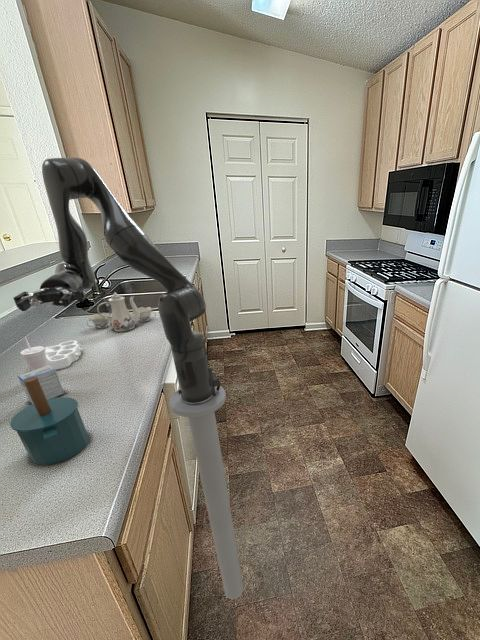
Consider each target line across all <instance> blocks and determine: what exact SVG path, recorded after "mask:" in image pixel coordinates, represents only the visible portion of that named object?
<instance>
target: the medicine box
mask: <svg viewBox="0 0 480 640" xmlns="http://www.w3.org/2000/svg"><path fill="white" fill-rule="evenodd" d="M29 377H37V378H38V380H39V382H40V385H41V387H42V389H43V392H44V394H45V396H46V399H51V398H57V397H61V396H62V395H64V394H65V390H64V388H63V386H62V383H61V380H60V379H59V375H58V373H57V369H54V368H52V367H50V366H49V365H47V366H45V367H42V368H39V369H36V370H33V371H32V370H31V371H28V372H25V373H22V374H19V375H18V376H17V379H18V381H19V384H20V385H21V387H22V389H23V391H24V393H25V395H26V398H27V400H28V402H29V403H31V405H32V404H34V403H33V401H32V399H31V397H30V395H29V393H28V390H27V388H26V386H25V384H24V382H23V381H24V380H25V379H26V378H29Z"/></svg>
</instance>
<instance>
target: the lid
mask: <svg viewBox="0 0 480 640" xmlns="http://www.w3.org/2000/svg"><path fill="white" fill-rule="evenodd" d="M23 382H24V384H25V386H26V388H27V390H28V393H29V395H30V397H31V399H32V401H33V403H34V404H32V403H31V404H30V405H28V406H26V407H24V408H22V409H21V410H19V411H18V412H17V413H16V414H14V415H13V417H12V418H11V419H10V421H9V426H10V427H11V429H12V430H13V431H15V432H17V431H18V432H32V431H38V430H42V429H46V428H49V427H52V426H54V425H57V424H59V423H61V422H63V421H64V420H66V419H68V418H69V417H70V416H72V415H73V414H74V413H75V412H76V410H77V408H78V409H79V403H78V401H77V400H76V399H75V398H73V397H68V396H57V397H55V398H51V399H46V396H45V394H44V392H43V389H42V387H41V385H40V382H39V380H38V378H37V377H29V378H26V379H25V380H24V381H23Z"/></svg>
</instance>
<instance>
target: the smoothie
mask: <svg viewBox="0 0 480 640" xmlns="http://www.w3.org/2000/svg"><path fill="white" fill-rule="evenodd" d="M24 341H25V344H26V345H27V347H26V348H25V349H22V350H21V351H20V357H22V358H23V359H24V361H25V362H26V364H27V365H28V368H29V369H30V370H31V371H33V370H36V369H39V368H42V367H45V366H47V365H48V362H47V358H46V354H45V351H46V349H45V348H46V347H45V346H42V345H37V346H32V347H31V344H30V343H29V341H28V337H27V336H25V337H24Z"/></svg>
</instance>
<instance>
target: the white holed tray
mask: <svg viewBox="0 0 480 640" xmlns="http://www.w3.org/2000/svg"><path fill="white" fill-rule="evenodd" d="M45 349H46V351H45V354H46V358H47V362H48V365H49V366H50V367H52V368H54V369H55V370H63V369H66V368H69V367H70V366H71V364H72V363H74V362H76V361H77V360H79V359H80V356H81V355H82V351H84V350H85V349H86V348H84V347H80V344H79V341H78V340H66V341H63V342H60V343H58V344H55V345H49V346H46V347H45Z"/></svg>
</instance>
